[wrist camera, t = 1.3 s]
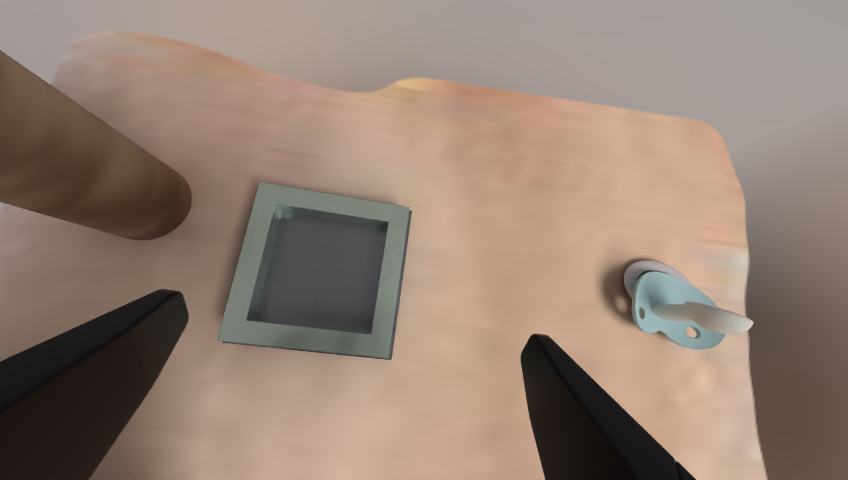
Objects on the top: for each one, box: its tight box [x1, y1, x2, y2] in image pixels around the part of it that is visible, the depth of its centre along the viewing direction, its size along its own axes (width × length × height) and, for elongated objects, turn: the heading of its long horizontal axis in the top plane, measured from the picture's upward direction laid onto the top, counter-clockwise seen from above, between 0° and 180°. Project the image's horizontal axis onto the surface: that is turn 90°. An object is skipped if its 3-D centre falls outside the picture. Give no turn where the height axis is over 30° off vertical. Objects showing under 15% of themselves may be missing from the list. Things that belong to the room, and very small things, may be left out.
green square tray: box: [217, 182, 412, 360], centre depth 19 cm, size 10×10×2 cm
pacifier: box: [624, 260, 753, 349], centre depth 21 cm, size 7×6×6 cm
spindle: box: [0, 50, 192, 240], centre depth 14 cm, size 5×5×12 cm
